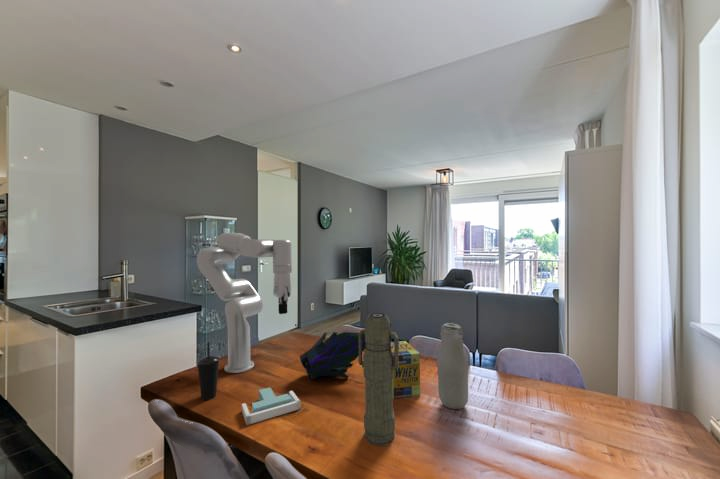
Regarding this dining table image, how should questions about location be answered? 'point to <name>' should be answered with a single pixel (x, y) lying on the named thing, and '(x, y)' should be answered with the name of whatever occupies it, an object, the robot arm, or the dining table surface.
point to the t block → (269, 400)
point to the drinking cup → (208, 375)
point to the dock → (271, 410)
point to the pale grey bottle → (452, 367)
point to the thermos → (378, 378)
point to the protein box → (406, 372)
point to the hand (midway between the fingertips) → (282, 313)
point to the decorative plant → (332, 355)
